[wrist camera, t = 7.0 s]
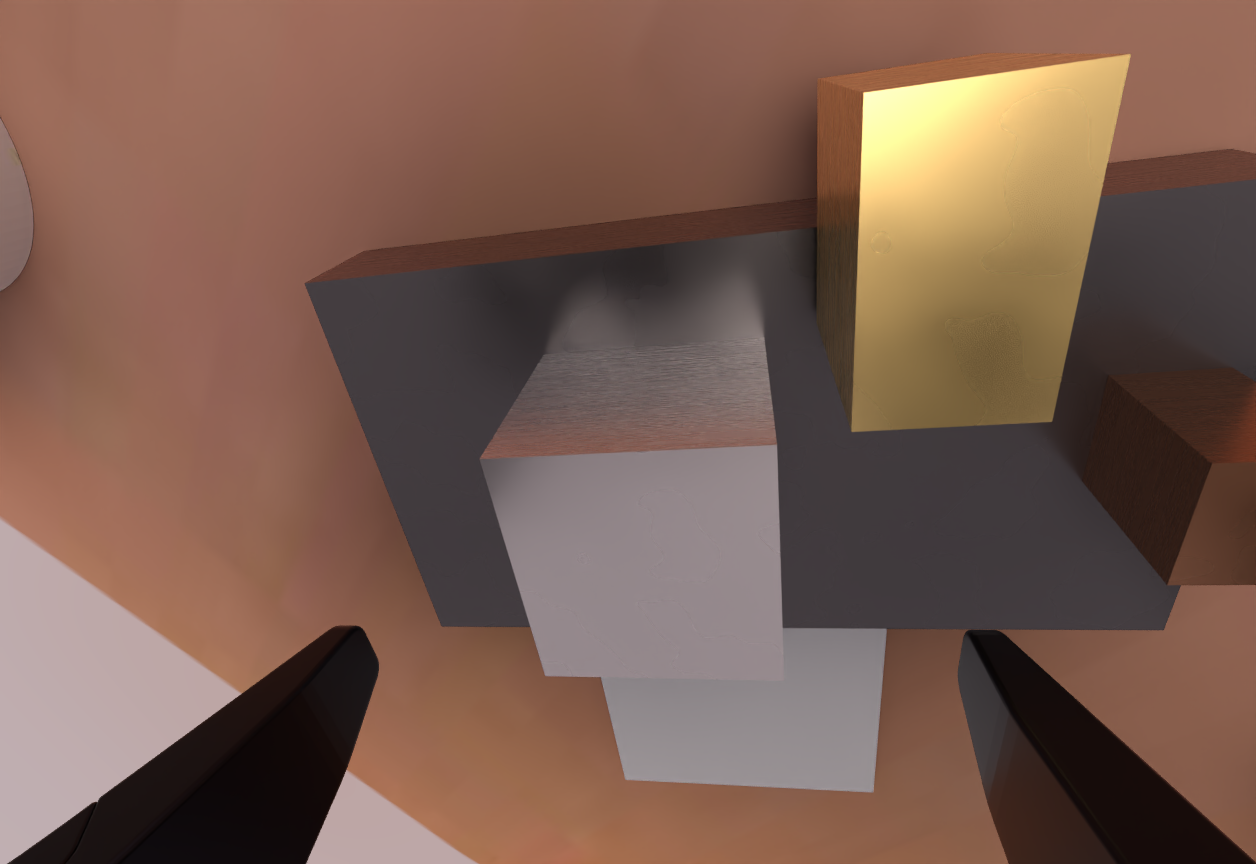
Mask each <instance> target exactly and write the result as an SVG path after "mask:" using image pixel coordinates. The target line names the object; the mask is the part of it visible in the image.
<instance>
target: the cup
mask: <svg viewBox="0 0 1256 864" xmlns="http://www.w3.org/2000/svg"><path fill="white" fill-rule="evenodd" d="M33 227H34V224H33V209H32V202H31V197H30V192H29V187H28V184H27V180H26V176H25V173H24V170H23V167H22V164H21V161H20V159H19V156H18V154H17V151H16V149H15V147H14V144H13V142H12V140H11V138H10V136H9V134H8V132H7V130H6V128H5V126H4V124H3V122H2V120H1V118H0V291H2V290H3V289H5V288H6V287H8V286H9V285H10V284H12V283H13V281H14V280H15V279H16V278H17V277H18V276H19V275H20V273H21V272H22V270H23V268H24V267H25V265H26V263H27V260H28V257H29V255H30V251H31V247H32V240H33Z"/></svg>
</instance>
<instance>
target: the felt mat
mask: <svg viewBox="0 0 1256 864" xmlns="http://www.w3.org/2000/svg"><path fill="white" fill-rule="evenodd" d="M886 633H887V629H843V628H783V658H784V681H765V680H716V679H667V678H617V677H601V680H602V684H603V688H604V692H605V697H606V701H607V705H608V709H609V713H610V717H611V722H612V726H613V730H614V734H615V738H616V742H617V746H618V751H619V755H620V759H621V763H622V767H623V771H624V776H625V780H641V781H660V782H680V783H699V784H719V785H738V786H758V787H777V788H797V789H816V790H836V791H856V792H873V790H874V777H875V765H876V753H877V741H878V729H879V717H880V705H881V693H882V681H883V669H884V657H885V645H886Z"/></svg>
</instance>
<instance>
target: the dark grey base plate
mask: <svg viewBox="0 0 1256 864" xmlns="http://www.w3.org/2000/svg"><path fill="white" fill-rule="evenodd" d="M305 286H306V288H307V291H308V293H309V296H310V298H311V301H312V303H313V306H314V308H315V311H316V313H317V316H318V318H319V321H320V323H321V326H322V328H323V331H324V333H325V336H326V338H327V341H328V343H329V346H330V348H331V351H332V353H333V356H334V358H335V361H336V363H337V366H338V368H339V371H340V373H341V376H342V378H343V381H344V383H345V386H346V388H347V391H348V393H349V396H350V398H351V401H352V403H353V406H354V408H355V411H356V413H357V416H358V418H359V421H360V423H361V426H362V428H363V431H364V433H365V436H366V438H367V441H368V443H369V446H370V448H371V451H372V453H373V456H374V458H375V461H376V463H377V466H378V468H379V471H380V473H381V476H382V478H383V481H384V483H385V486H386V488H387V491H388V493H389V496H390V498H391V501H392V503H393V506H394V508H395V511H396V513H397V516H398V518H399V521H400V523H401V526H402V528H403V531H404V533H405V536H406V538H407V541H408V543H409V546H410V548H411V551H412V553H413V556H414V558H415V561H416V563H417V566H418V568H419V571H420V573H421V576H422V578H423V581H424V583H425V586H426V588H427V591H428V593H429V596H430V598H431V601H432V603H433V606H434V608H435V611H436V613H437V616H438V618H439V621H440V623H441V626H458V627H530V624H529V621H528V617H527V614H526V611H525V607H524V604H523V601H522V598H521V594H520V591H519V588H518V584H517V581H516V578H515V574H514V571H513V568H512V565H511V561H510V558H509V555H508V551H507V548H506V545H505V542H504V538H503V535H502V532H501V528H500V525H499V522H498V518H497V515H496V512H495V509H494V505H493V502H492V499H491V495H490V492H489V489H488V486H487V482H486V479H485V476H484V472H483V469H482V466H481V463H480V458H481V456H482V454H483V453H484V451H485V449H486V448H487V446H488V445H489V443H490V441H491V440H492V438H493V436H494V435H495V433H496V432H497V430H498V428H499V427H500V425H501V423H502V422H503V420H504V419H505V417H506V415H507V414H508V412H509V410H510V409H511V407H512V406H513V404H514V402H515V401H516V399H517V397H518V396H519V394H520V393H521V391H522V389H523V388H524V386H525V384H526V383H527V381H528V380H529V378H530V376H531V375H532V373H533V371H534V370H535V368H536V367H537V365H538V363H539V362H540V360H541V358H542V357H543V355H548V354H560V353H573V352H586V351H598V350H611V349H624V348H636V347H649V346H661V345H674V344H687V343H699V342H712V341H725V340H737V339H750V338H763V337H764V340H765V349H766V357H767V365H768V374H769V382H770V390H771V399H772V407H773V416H774V424H775V432H776V441H777V461H778V494H779V527H780V560H781V592H782V625H783V628H843V629H1036V630H1164V628H1165V625H1166V623H1167V620H1168V618H1169V615H1170V612H1171V610H1172V607H1173V605H1174V602H1175V599H1176V597H1177V594H1178V591H1179V589H1180V586H1181V585H1256V154H1254V153H1249V152H1244V151H1239V150H1234V149H1228V150H1219V151H1211V152H1202V153H1194V154H1185V155H1177V156H1168V157H1160V158H1151V159H1143V160H1134V161H1126V162H1117V163H1109V164H1107V168H1106V173H1105V177H1104V182H1103V187H1102V191H1101V196H1100V201H1099V205H1098V210H1097V215H1096V219H1095V224H1094V229H1093V233H1092V238H1091V243H1090V247H1089V252H1088V257H1087V261H1086V266H1085V271H1084V275H1083V280H1082V285H1081V289H1080V294H1079V299H1078V303H1077V308H1076V313H1075V317H1074V322H1073V327H1072V331H1071V336H1070V341H1069V345H1068V350H1067V355H1066V359H1065V364H1064V369H1063V373H1062V378H1061V383H1060V387H1059V392H1058V397H1057V401H1056V406H1055V411H1054V415H1053V420H1052V422H1039V423H1020V424H1000V425H980V426H960V427H940V428H920V429H901V430H881V431H861V432H851V429H850V426H849V423H848V420H847V417H846V414H845V410H844V407H843V404H842V401H841V398H840V395H839V392H838V388H837V385H836V382H835V379H834V376H833V373H832V370H831V367H830V363H829V360H828V357H827V354H826V351H825V348H824V345H823V342H822V338H821V335H820V332H819V329H818V326H817V323H816V319H817V198H812V199H803V200H795V201H786V202H778V203H769V204H761V205H752V206H744V207H735V208H727V209H718V210H710V211H701V212H693V213H684V214H676V215H667V216H659V217H650V218H642V219H633V220H625V221H616V222H608V223H599V224H591V225H582V226H574V227H565V228H557V229H548V230H540V231H531V232H523V233H514V234H506V235H497V236H489V237H480V238H472V239H463V240H455V241H446V242H438V243H429V244H421V245H412V246H404V247H395V248H387V249H378V250H370V251H363V252H361V253H360V254H358V255H356V256H354V257H352V258H350V259H348V260H347V261H345V262H343V263H341V264H339V265H337V266H336V267H334V268H332V269H330V270H328V271H326V272H325V273H323V274H321V275H319V276H317V277H315V278H314V279H312V280H310V281H308V282H306V283H305Z"/></svg>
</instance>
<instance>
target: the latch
mask: <svg viewBox="0 0 1256 864" xmlns="http://www.w3.org/2000/svg"><path fill="white" fill-rule="evenodd" d="M1130 56H1131V54H1019V53H985V54H978V55H972V56H965V57H959V58H952V59H945V60H939V61H932V62H926V63H919V64H912V65H906V66H899V67H893V68H886V69H879V70H873V71H866V72H860V73H853V74H846V75H840V76H833V77H827V78H820V79H818V111H817V319H816V323H817V326H818V329H819V332H820V335H821V338H822V342H823V345H824V348H825V351H826V354H827V357H828V360H829V363H830V367H831V370H832V373H833V376H834V379H835V382H836V385H837V388H838V392H839V395H840V398H841V401H842V404H843V407H844V410H845V414H846V417H847V420H848V423H849V426H850V429H851V432H861V431H881V430H901V429H920V428H940V427H960V426H980V425H1000V424H1020V423H1039V422H1052V420H1053V415H1054V411H1055V406H1056V401H1057V397H1058V392H1059V387H1060V383H1061V378H1062V373H1063V369H1064V364H1065V359H1066V355H1067V350H1068V345H1069V341H1070V336H1071V331H1072V327H1073V322H1074V317H1075V313H1076V308H1077V303H1078V299H1079V294H1080V289H1081V285H1082V280H1083V275H1084V271H1085V266H1086V261H1087V257H1088V252H1089V247H1090V243H1091V238H1092V233H1093V229H1094V224H1095V219H1096V215H1097V210H1098V205H1099V201H1100V196H1101V191H1102V187H1103V182H1104V177H1105V173H1106V168H1107V163H1108V159H1109V154H1110V149H1111V144H1112V140H1113V135H1114V130H1115V126H1116V121H1117V116H1118V112H1119V107H1120V102H1121V98H1122V93H1123V88H1124V84H1125V79H1126V74H1127V70H1128V65H1129V60H1130Z"/></svg>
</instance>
